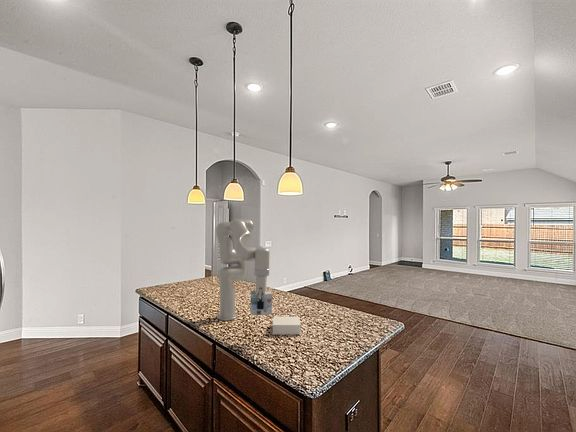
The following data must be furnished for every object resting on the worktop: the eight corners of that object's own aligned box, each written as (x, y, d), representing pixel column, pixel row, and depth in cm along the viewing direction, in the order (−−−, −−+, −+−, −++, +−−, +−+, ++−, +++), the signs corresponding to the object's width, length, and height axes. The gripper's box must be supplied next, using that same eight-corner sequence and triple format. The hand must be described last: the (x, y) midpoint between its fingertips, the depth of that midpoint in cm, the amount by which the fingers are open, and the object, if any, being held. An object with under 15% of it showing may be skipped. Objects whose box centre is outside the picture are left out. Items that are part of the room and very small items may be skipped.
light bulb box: (251, 316, 140) (251, 294, 140) (249, 311, 146) (250, 290, 146) (272, 314, 143) (272, 293, 143) (269, 310, 149) (270, 289, 149)
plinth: (273, 325, 163) (273, 316, 163) (299, 325, 164) (299, 316, 164) (272, 334, 150) (272, 325, 150) (300, 334, 151) (300, 325, 151)
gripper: (256, 268, 153) (255, 300, 153) (252, 275, 136) (251, 312, 136) (269, 269, 153) (269, 301, 153) (268, 276, 136) (267, 312, 136)
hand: (261, 306), depth 144 cm, fingers closed on light bulb box, 7 cm apart
